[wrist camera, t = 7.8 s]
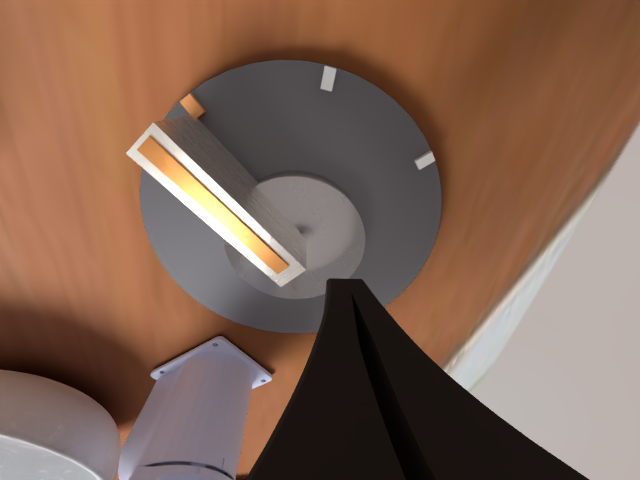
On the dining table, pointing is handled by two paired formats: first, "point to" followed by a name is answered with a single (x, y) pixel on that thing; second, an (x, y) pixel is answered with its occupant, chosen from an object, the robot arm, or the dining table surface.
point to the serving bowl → (54, 432)
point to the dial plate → (311, 156)
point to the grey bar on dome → (257, 210)
